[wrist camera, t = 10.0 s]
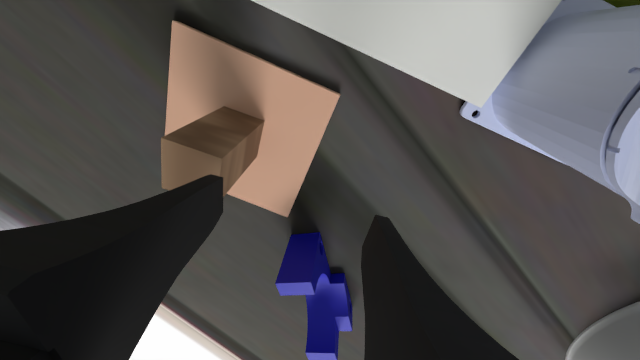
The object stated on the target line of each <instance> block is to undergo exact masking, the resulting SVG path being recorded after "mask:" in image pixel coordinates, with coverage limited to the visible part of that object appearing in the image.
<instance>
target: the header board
mask: <svg viewBox="0 0 640 360" xmlns="http://www.w3.org/2000/svg"><path fill="white" fill-rule="evenodd" d="M251 1H254V2H256V3H258V4H260V5H262V6H264V7H266V8H269V9H271V10H273V11H275V12H277V13H279V14H281V15H283V16H286V17H288V18H290V19H292V20H294V21H296V22H298V23H301V24H303V25H305V26H307V27H309V28H311V29H313V30H315V31H318V32H320V33H322V34H324V35H326V36H328V37H330V38H333V39H335V40H337V41H339V42H341V43H343V44H345V45H348V46H350V47H352V48H354V49H356V50H358V51H360V52H362V53H365V54H367V55H369V56H371V57H373V58H375V59H377V60H380V61H382V62H384V63H386V64H388V65H390V66H392V67H394V68H397V69H399V70H401V71H403V72H405V73H407V74H409V75H412V76H414V77H416V78H418V79H420V80H422V81H424V82H427V83H429V84H431V85H433V86H435V87H437V88H439V89H441V90H444V91H446V92H448V93H450V94H452V95H454V96H456V97H459V98H461V99H463V100H465V101H467V102H469V103H471V104H473V105H476V106H478V107H480V108H482V106H483V105H484V104H485V102H486V101H487V100H488V98H489V97H490V96H491V94H492V93H493V92H494V90H495V89H496V88H497V86H498V85H499V84H500V82H501V81H502V80H503V78H504V77H505V76H506V74H507V73H508V72H509V70H510V69H511V67H512V66H513V65H514V63H515V62H516V61H517V59H518V58H519V57H520V55H521V54H522V53H523V51H524V50H525V49H526V47H527V46H528V45H529V43H530V42H531V41H532V39H533V38H534V37H535V35H536V34H537V33H538V31H539V30H540V29H541V27H542V26H543V25H544V23H545V22H546V21H547V19H548V18H549V17H550V15H551V14H552V13H553V11H554V10H555V9H556V7H557V6H558V5H559V3H560V2H561V1H562V0H251Z"/></svg>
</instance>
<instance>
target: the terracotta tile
mask: <svg viewBox="0 0 640 360" xmlns="http://www.w3.org/2000/svg"><path fill="white" fill-rule="evenodd" d="M339 97H340V93H337V92H335V91H333V90H331V89H329V88H326V87H324V86H322V85H320V84H317V83H315V82H313V81H311V80H308V79H306V78H304V77H302V76H300V75H297V74H295V73H293V72H291V71H288V70H286V69H284V68H282V67H279V66H277V65H275V64H273V63H270V62H268V61H266V60H264V59H262V58H259V57H257V56H255V55H253V54H250V53H248V52H246V51H244V50H241V49H239V48H237V47H235V46H233V45H230V44H228V43H226V42H224V41H221V40H219V39H217V38H215V37H212V36H210V35H208V34H206V33H203V32H201V31H199V30H197V29H195V28H192V27H190V26H188V25H186V24H183V23H181V22H179V21H173V20H172V33H171V49H170V65H169V81H168V96H167V112H166V128H165V136H166V135H168V134H170V133H172V132H174V131H175V130H177V129H179V128H181V127H183V126H185V125H187V124H189V123H191V122H193V121H195V120H197V119H199V118H201V117H203V116H205V115H207V114H209V113H211V112H213V111H215V110H217V109H219V108H221V107H223V106H225V107H228V108H231V109H234V110H236V111H239V112H242V113H245V114H248V115H250V116H253V117H256V118H259V119H262V120H264V121H265V122H264V126H263V131H262V136H261V140H260V145H259V150H258V155H257V157H256V158H255V160H254V161H253V162H252V163H251V164H250V166H249V167H248V168H247V169H246V170H245V172H244V173H243V174H242V175H241V176H240V178H239V179H238V180H237V181H236V182H235V184H234V185H233V186H232V187H231V188H230V190H229V191H228V192H227V193H226V194H229V195H232V196H234V197H237V198H239V199H242V200H244V201H247V202H250V203H252V204H255V205H257V206H260V207H262V208H265V209H267V210H270V211H273V212H275V213H278V214H280V215H283V216H285V217H288V215H289V213H290V211H291V208H292V206H293V204H294V201H295V199H296V197H297V194H298V192H299V190H300V187H301V185H302V183H303V180H304V178H305V176H306V173H307V171H308V169H309V166H310V164H311V162H312V159H313V157H314V155H315V152H316V150H317V148H318V145H319V143H320V141H321V138H322V136H323V134H324V131H325V129H326V127H327V124H328V122H329V120H330V118H331V115H332V113H333V111H334V108H335V106H336V104H337V101H338V99H339Z"/></svg>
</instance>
